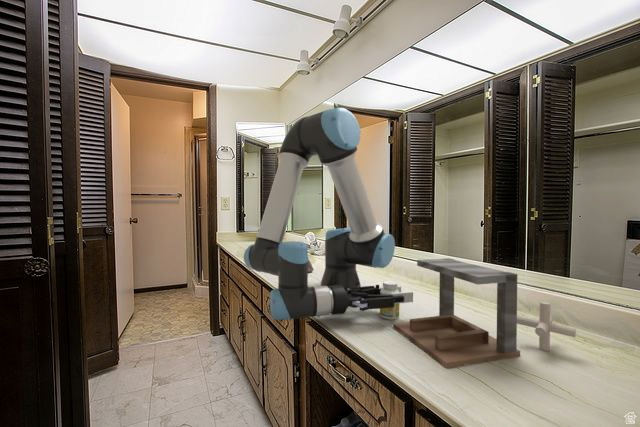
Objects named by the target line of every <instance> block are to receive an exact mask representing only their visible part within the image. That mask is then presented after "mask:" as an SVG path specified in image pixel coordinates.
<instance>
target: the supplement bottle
mask: <svg viewBox="0 0 640 427" xmlns="http://www.w3.org/2000/svg"><path fill="white" fill-rule="evenodd" d="M397 286H398V282H396V281H393V280H385V281H382V287H383V289H382V290H381V291H380V295H391V293H399V291H398V290H397ZM379 315H380V317H381V318H383V319H386V320H397V319H398V318H400V303H397V304H394V307H393V308H380V309H379Z"/></svg>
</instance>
